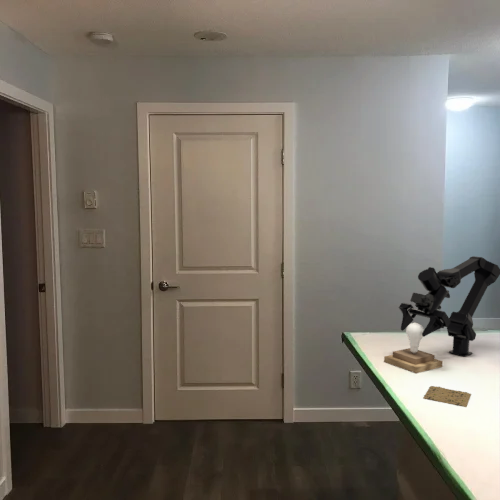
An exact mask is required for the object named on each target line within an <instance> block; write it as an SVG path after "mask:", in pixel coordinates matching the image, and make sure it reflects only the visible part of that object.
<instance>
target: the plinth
mask: <svg viewBox="0 0 500 500" xmlns="http://www.w3.org/2000/svg"><path fill="white" fill-rule="evenodd" d="M383 357H384V358H383V363H386V364H388V365H389V364H390V365H391V366H395V367H397V368H399V369H403V370H405V371H408V372H412V373H414V374H419V373H424V372H425V371H426V372H427V371H431V370H434V369H439V368H442V367H443V360H441V359H436V358H435V354H432V353H429V352H426V351H423V350H420V349H418V352H416V353H412V352H411V351H410V347H409V348H404V349H399V350H394V351H392V354H391V355H390V354H389V355H385V356H383Z"/></svg>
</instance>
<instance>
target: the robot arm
mask: <svg viewBox="0 0 500 500" xmlns="http://www.w3.org/2000/svg"><path fill="white" fill-rule="evenodd" d="M473 272H474V273H473ZM470 274H474V281H473V284H472V286H471V288H470V290H469V292H468V293H467V296H466V298H465V299H464V302H463V303H462V305H461V307H460V309H459V310H458V311H452V312H451V314H450V315H449V316H448V315H447V313H446V312H445V311H443V310H441V309H442V306H441V304H442V303H443V301H444V300H445V298H446V299H450V298H451V296H450V295H451V294H450V291H449V290H448V289H447V288H450V289H455V288H457V286H459V285H460V284H461V282H462V279H463V278H465V277H466V276H468V275H470ZM499 277H500V267H499V265H497V264H496V263H494V262H491V261H488V260H487V259H485V258H484V257H482V256H475V255H473V256H470V257H469V259H467V260H465V261H463V262H461V263H460V264H458V265H456V266H454V267H452V268H445V269H442V270H438V272H436V269H435V267H431V266H429V267H428V268H427V269H424V270H422V271H421V272H419V273H418V275H417V279H418V280H419V282H420V283H421V285H422V286H423V288H424V289H425V290H426V291H428V292H427V293H426V294H423V293H417V292H412V294H411V297H410V300H409V301H410V302H411V303H406V302H402V303H400V304H399V307H398V309H399V310H400V312H401V314H402V321H401V325H400V330H401V331H402V332H403V331H405V330H406V329H407V326H408V325H409V324H411V323H413V321H414V318H416V316H418V317H423V318H427V319H429V321H428V323H427V325H426V326H425V327H424V331H423V333H422V336H423V337H424V338H425V337H427V336H428V335H430V334H432V333H434V332H436V331H438V330H440V329H444V328H446V330H447V336H448V337H453V339H452V350H449V351H448V353H449V354H453V355H457V356H460V357H461V356H462V357H467V356H471V355H472V354H473V352H472V351H470V341H471V342H473V341H475V339H476V336H477V333H476V332H475V330H474V328H473V326H474V319H473V316H474V314H475V312H476V310H477V308H478V306H479V304H480V302H481V301H482V299H483V296H484V295H485V292H486V291H487V289H488V287H490V286H491V285H493V284H494V283H496V281H497V280H498V278H499ZM412 303H414V306H415V307H416V308H414V306H413V305H412ZM423 337H422V338H423Z"/></svg>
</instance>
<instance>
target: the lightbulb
mask: <svg viewBox="0 0 500 500" xmlns="http://www.w3.org/2000/svg"><path fill="white" fill-rule="evenodd" d="M424 330H425V327H424V326H423V325H422V324H420V323H418V322H411V323H410V324H409V325H408V326H407V327H406V328H405V334H406V335H407V337H408V340H409V341H408V342H409V348H410V351H411V352H412V353H416V352H418V350H419V346H420V342H421V340H422V339H423V336H422V333H423V331H424Z"/></svg>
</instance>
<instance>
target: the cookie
mask: <svg viewBox="0 0 500 500" xmlns="http://www.w3.org/2000/svg"><path fill="white" fill-rule="evenodd" d="M471 396H472V393H469V392H468V391H467V392H466V391H461V390H454V389H449V388H445V387H441V386H434V385H431V386H429V387H428V389H427V391H426V392H425V394H424V395H423V398H422V399H424V400H429V401H432V402H438V403H442V404H443V403H444V404H448V405H453V406H459V407H463V408H467V406H469V405H468V404H469V401H470V400H471Z"/></svg>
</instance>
